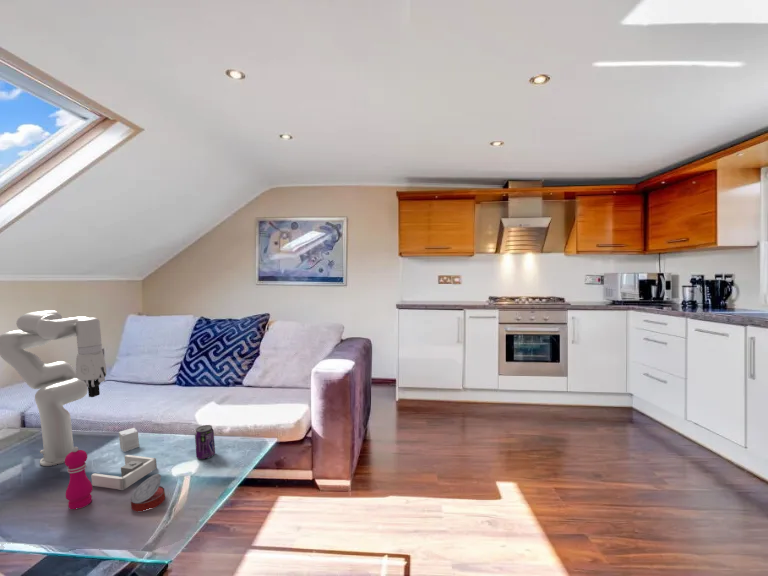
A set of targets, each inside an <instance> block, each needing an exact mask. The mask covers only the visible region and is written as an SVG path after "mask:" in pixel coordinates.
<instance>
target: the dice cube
mask: <svg viewBox="0 0 768 576" xmlns="http://www.w3.org/2000/svg"><path fill="white" fill-rule="evenodd" d="M141 465H143V462H138V461H131V462H129V463H128V464H126V465H125V464H124V465H123V466H121V467H120V474H121V476H120V477H123V476H125V475H127V474H128V473H130V472H132V471H133V470H135V469H136V468H138V467H140V466H141Z"/></svg>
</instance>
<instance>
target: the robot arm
mask: <svg viewBox="0 0 768 576" xmlns="http://www.w3.org/2000/svg"><path fill="white" fill-rule="evenodd" d="M16 327H17V328H18V329H14V330H11V331H6V332H4V333H1V334H0V358H1V359H2V360H3V361H5V362H6V363H7V364H9V365H10V366H11V367H12V368H13V369H14V370H15V371H16V372H17V373H18V375H19V376H20V378H22V380H23V381H24V382H25V384H26V385H27V386H28V387H29V388H30V389H32V390H33V389H34V390H37V391H36V392H35V394H34V401H35V404H36V407H37V410H38V413H39V418H40V427H41V435H42V437H41V438H42V445H43V446H42V447H43V449H41V450H40V451H39V453H40V454H41V455H42V454H43V457H41V459H40V460H39V464H40V466H43V467H50V466H51V467H52V465H53V466H57V464H58V465H61V464H65V458H66V456H67V455H68V454H69V453H71V452H72V448H73V447H75V446H74V440H73V430H72V429H73V428H72V427H73V425H72V417H71V413H70V412H69V410H67V409H66V408H64V405H67V404H70V403H72V402H77V401H79V400H82V399H83V398H85V397H86V395H87V394H88V398H94V397H97V396H99V395H100V393H101V391H100V385H101V383H103V382H105V381H106V377H107V364H106V359H105V355H104V353H103V346H102V345H103V344H102V334H101V333H102V332H101V322H100V319H99V318H97V317H88V316H86V315H84V316H83V315H81V316H74V317H66V318H63V317H62V315H61V313H59V312H58V311H57V310H52V309H50V310H49V309H48V310H39V311H31V312H27V313H24V314H22V315H20V316H19V317H18V318H17V320H16ZM73 337H76V344H77V351H78V352H77V355H76V360H75V368H74V367H73V366H72V364H71V363H69V362H68V361H64V360H58V361H54V362H49V363H48V362H47V363H46V362H44V361H42V359H41V358H40V357H39V356H38V355H37V354H35V353H32V352H30V351H27V349H31V348H36V347H42V346H45V345H48V344H49V343H50V342H51V341H52V340H53V341H56V340H64V339H68V338H73Z"/></svg>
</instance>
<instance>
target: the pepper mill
mask: <svg viewBox="0 0 768 576" xmlns="http://www.w3.org/2000/svg"><path fill="white" fill-rule="evenodd" d="M87 460H88V453H87V452H86V451H85V450H83V449H80V448H79V447H78V446H74V447H73V448H72V452H71V453H69V454H68V455H67V456H66V458H65V463H64V465H65V467H67V473H68V474H69V483H68V484H67V487H66V490H65V499H66V500H67V501H68V502H67V503H68V509H69V508H70V509H69V510H72V509H74V510H77V509H76V508H80V509H82V508H85V507H86V506H88V505H90V504H91V502H92V501H93V497H92V496H93V495H92V492H93V486H92V481H90V479H89V478H88V476H87V473H86V468H87V463H86V462H87Z"/></svg>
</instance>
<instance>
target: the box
mask: <svg viewBox="0 0 768 576" xmlns="http://www.w3.org/2000/svg"><path fill="white" fill-rule="evenodd" d="M131 461H138V462H143V465H141V466H140V467H138V468H136V469H135V470H133V471H132V472H130V473H128V474H127V475H125V476H123V477H122V476H117V475H111V474H110V475H109V474H102V473H92V474H91V475H90V477H91V484H92V487H93V486H94V487H100V488H107V489H112V490H120V491H124V490H126V489H127V488H128V487H130V486H132V485H134V483H136V482H138V481H139V480H141V479H142V478H144V477H145V476H147V475H149V474H150V473H151V472H153V471H155V470H157V468H158V467H157V465H158V464H157V458H156V457H149V456H140V455H131V454H126V455H124V465H126V464H128V463H129V462H131Z"/></svg>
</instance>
